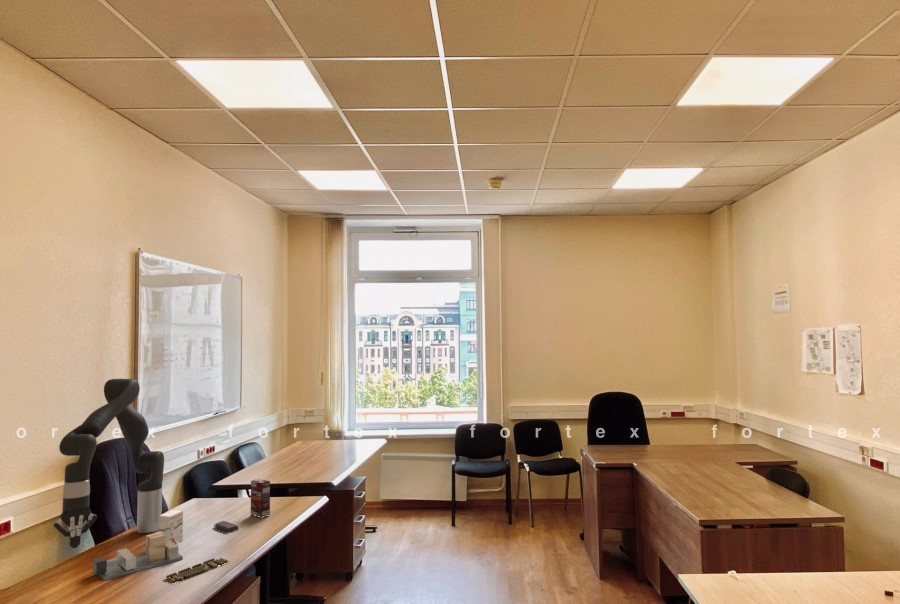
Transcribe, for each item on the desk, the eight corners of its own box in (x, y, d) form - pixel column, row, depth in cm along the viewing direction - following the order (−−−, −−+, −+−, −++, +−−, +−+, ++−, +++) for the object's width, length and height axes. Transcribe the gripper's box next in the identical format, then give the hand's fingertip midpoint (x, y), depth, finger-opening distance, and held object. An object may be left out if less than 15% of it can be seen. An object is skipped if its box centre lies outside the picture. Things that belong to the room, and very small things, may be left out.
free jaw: (90, 568, 191) (91, 556, 191) (126, 559, 198) (126, 547, 199) (98, 577, 182) (98, 565, 183) (135, 568, 190) (135, 556, 190)
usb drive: (226, 534, 229) (227, 527, 229) (211, 529, 236) (211, 522, 236) (238, 530, 233) (238, 524, 233) (223, 525, 240) (223, 519, 240)
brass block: (145, 558, 200) (146, 535, 201) (160, 554, 203) (161, 532, 204) (149, 561, 196) (150, 538, 197) (164, 557, 200) (165, 535, 200)
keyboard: (173, 587, 178) (173, 581, 178) (158, 581, 183) (158, 575, 183) (232, 564, 196) (232, 558, 196) (216, 559, 201) (217, 553, 201)
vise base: (95, 570, 192) (96, 555, 192) (171, 551, 209) (172, 537, 209) (103, 580, 183) (104, 565, 184) (182, 559, 200) (182, 545, 201)
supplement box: (249, 515, 253) (250, 480, 254) (258, 513, 256) (259, 478, 258) (261, 518, 248) (261, 482, 249) (270, 515, 252) (270, 480, 253)
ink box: (168, 547, 213) (168, 516, 214) (157, 547, 214) (157, 516, 215) (183, 539, 222) (183, 510, 223) (172, 539, 223) (173, 509, 224)
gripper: (96, 488, 192) (95, 539, 190) (50, 496, 183) (48, 550, 181) (101, 492, 187) (100, 544, 185) (54, 500, 178) (52, 555, 176)
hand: (74, 547), depth 183 cm, fingers closed
